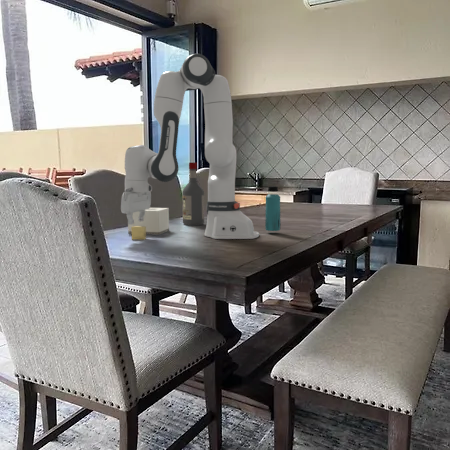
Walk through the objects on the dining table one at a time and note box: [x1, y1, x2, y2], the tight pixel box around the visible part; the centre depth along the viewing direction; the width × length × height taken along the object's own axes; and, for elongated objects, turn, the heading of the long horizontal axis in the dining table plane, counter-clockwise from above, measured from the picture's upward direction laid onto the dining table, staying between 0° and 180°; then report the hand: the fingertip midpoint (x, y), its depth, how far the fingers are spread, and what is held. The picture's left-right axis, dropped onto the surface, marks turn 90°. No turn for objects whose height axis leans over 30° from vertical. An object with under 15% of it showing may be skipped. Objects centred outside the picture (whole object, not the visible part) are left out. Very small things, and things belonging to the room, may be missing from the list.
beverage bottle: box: [264, 185, 282, 232], centre depth 188 cm, size 6×7×20 cm
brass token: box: [131, 226, 147, 241], centre depth 176 cm, size 5×2×5 cm, turn 78°
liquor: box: [181, 162, 205, 227], centre depth 217 cm, size 9×9×30 cm
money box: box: [127, 207, 170, 236], centre depth 194 cm, size 14×12×10 cm
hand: (136, 222), depth 176 cm, fingers open, 8 cm apart
